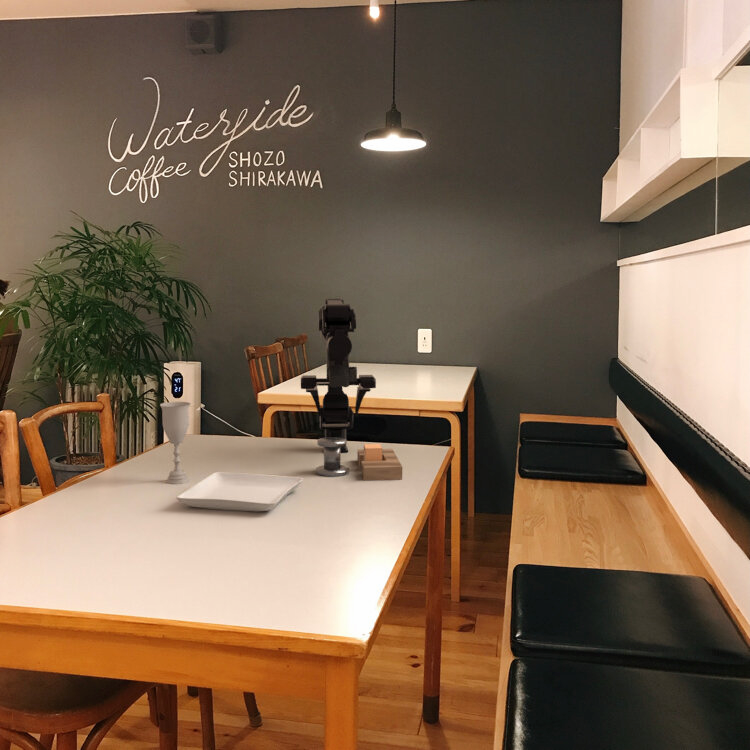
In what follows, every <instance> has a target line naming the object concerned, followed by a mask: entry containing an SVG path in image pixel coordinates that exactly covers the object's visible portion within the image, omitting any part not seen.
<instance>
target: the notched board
mask: <svg viewBox="0 0 750 750" xmlns="http://www.w3.org/2000/svg"><path fill="white" fill-rule="evenodd" d="M356 450H357V455H356V456H357V459H356V460H357V464H358V467H359V468H361V475H362V479H363V481H385V480H386V481H387V480H394V481H395V480H403V466H402V464H401V462H400V460H399V458H398V456H397V454H396V453H395V451H394V449H393V448H382V461H364V448H363V449H361V448H360V449H356Z"/></svg>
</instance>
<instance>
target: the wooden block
mask: <svg viewBox="0 0 750 750" xmlns="http://www.w3.org/2000/svg"><path fill="white" fill-rule="evenodd" d="M363 449H364V461H382V449H383V447H382V445H381V443H365V444H363Z"/></svg>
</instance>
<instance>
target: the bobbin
mask: <svg viewBox="0 0 750 750" xmlns="http://www.w3.org/2000/svg"><path fill="white" fill-rule="evenodd" d="M347 441H348V440H347V438H346V439H345V438H339V437H326V438H325V437H320V438H318V439H317V446H319V447H322V448H323V447H324V450H323V465H320V466H317V467H316V468H315V475H318V476H321V477H328V478H330V477H331V478H332V477H333V478H334V477H335V478H336V477H342V476H343V477H344V476H346V475H349V474H350V467H349V466H346V465H341V463H342V462H341V461H342V459H341V458H342V457H341V452H340V447H341V446H345V445H346V446H348V445H347V444H348V442H347Z"/></svg>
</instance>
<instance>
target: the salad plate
mask: <svg viewBox="0 0 750 750" xmlns="http://www.w3.org/2000/svg"><path fill="white" fill-rule="evenodd" d="M303 480H304V478H303V477H299V476H298V477H297V476H287V475H275V474H274V475H272V474H265V473H264V474H263V473H262V474H261V473H247V472H246V473H245V472H226V471H225V472H223V471H215V472H213V473H212V474H210V475H208V476H207V477H205V478H203V479H202V480H200V481H199V482H198V483H195V484H194V485H192V486H191V487H189V488H188V489H186V490H185V491H183V492H182V493H180V494H179V495H177V496H176V499H177V501H179V502H180V503H182V504H183V505H186V506H188V507H193V508H199V509H208V510H209V509H210V510H224V511H241V512H257V513H258V512H268V511H271V510H273V509H274V508H275V507H276V506H277V505H278V504H279V503H280V502H281V501H282V500H284V499H285V498H286V497H287V496H288V495H289V494H291V492H293V491H295V490H296V489H297V488H298V487H299V486H301V485H300V484H302V482H303Z"/></svg>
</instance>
